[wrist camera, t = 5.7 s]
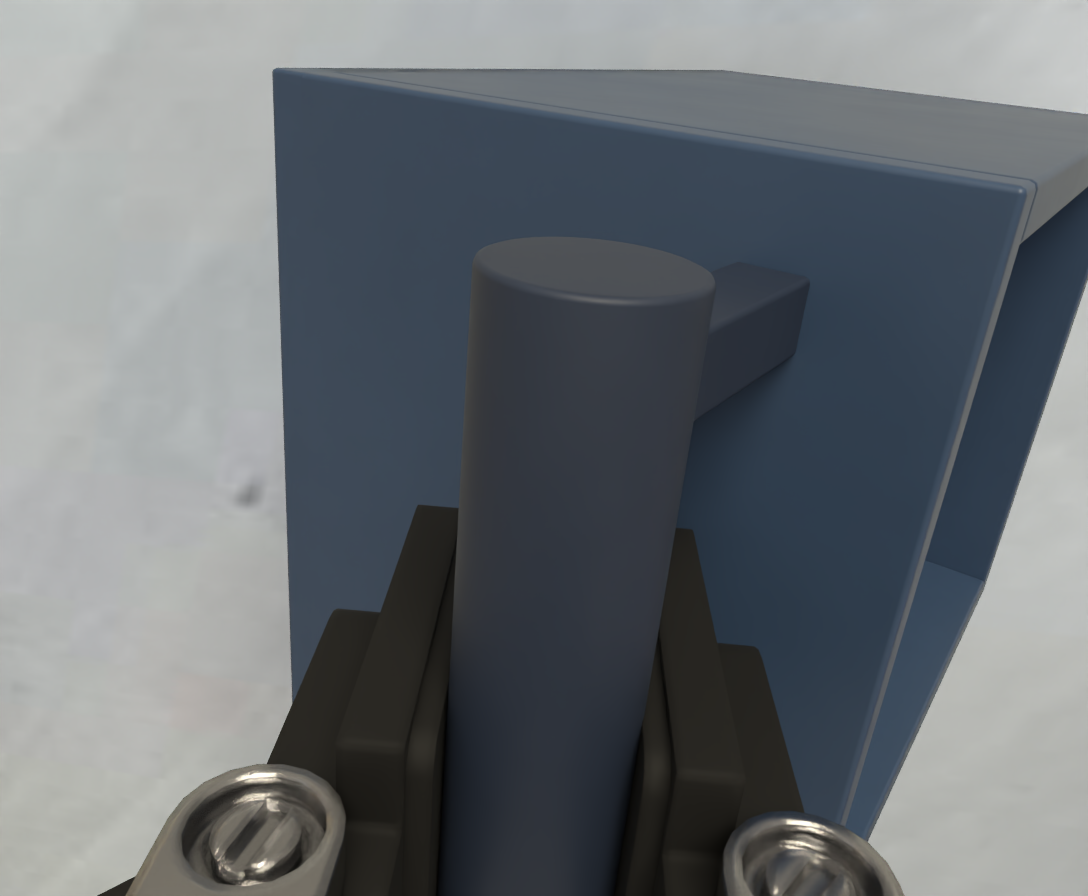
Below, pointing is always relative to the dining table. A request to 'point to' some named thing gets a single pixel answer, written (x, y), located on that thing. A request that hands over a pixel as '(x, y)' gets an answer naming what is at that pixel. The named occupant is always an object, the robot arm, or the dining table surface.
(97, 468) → the dining table surface
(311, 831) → the robot arm
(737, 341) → the blue drawer with handle
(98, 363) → the dining table surface
